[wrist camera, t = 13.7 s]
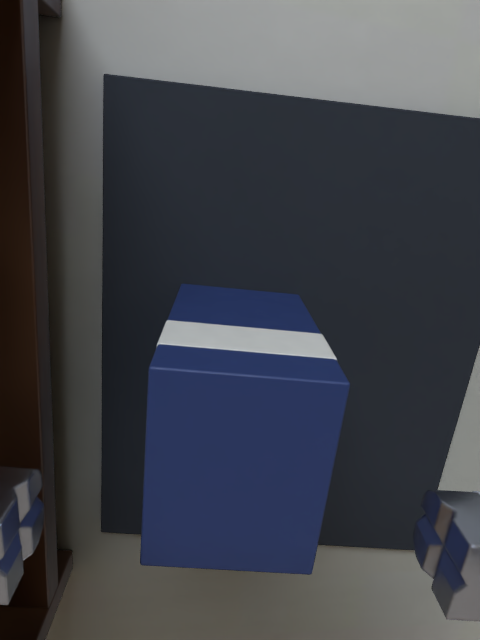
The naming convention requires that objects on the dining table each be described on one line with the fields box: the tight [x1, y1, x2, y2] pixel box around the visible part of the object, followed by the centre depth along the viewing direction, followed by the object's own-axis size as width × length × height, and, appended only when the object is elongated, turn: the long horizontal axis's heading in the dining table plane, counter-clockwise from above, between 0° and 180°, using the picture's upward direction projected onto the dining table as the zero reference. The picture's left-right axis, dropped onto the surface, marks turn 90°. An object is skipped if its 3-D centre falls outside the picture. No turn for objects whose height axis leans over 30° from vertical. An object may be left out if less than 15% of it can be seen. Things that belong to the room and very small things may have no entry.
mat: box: [101, 74, 480, 550], centre depth 19 cm, size 16×20×1 cm
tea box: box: [140, 284, 350, 575], centre depth 15 cm, size 5×6×8 cm
